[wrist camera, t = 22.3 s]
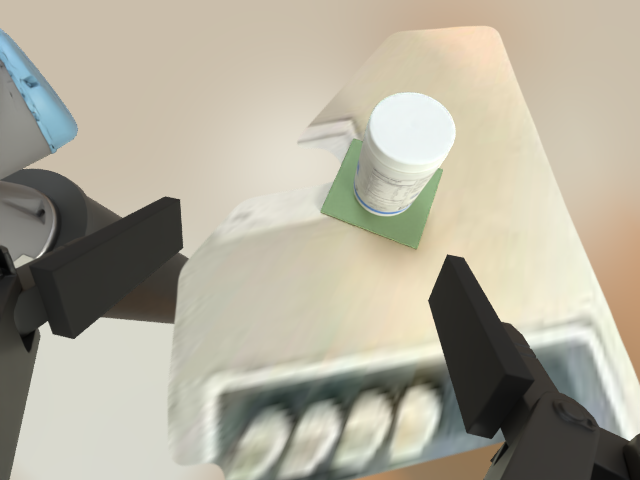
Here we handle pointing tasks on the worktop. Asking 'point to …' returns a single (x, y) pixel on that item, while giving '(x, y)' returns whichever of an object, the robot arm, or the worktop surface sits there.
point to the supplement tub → (401, 151)
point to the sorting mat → (393, 227)
